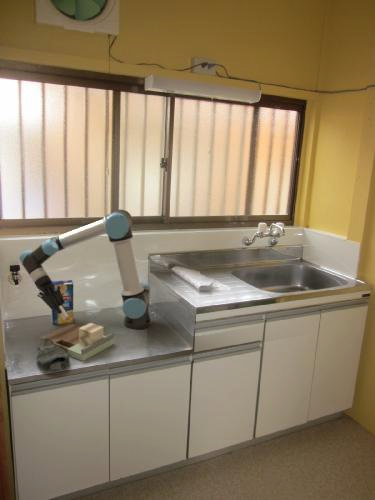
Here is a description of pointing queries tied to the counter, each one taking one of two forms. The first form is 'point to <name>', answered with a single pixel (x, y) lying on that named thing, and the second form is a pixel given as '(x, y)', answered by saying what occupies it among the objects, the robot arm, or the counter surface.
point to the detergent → (51, 355)
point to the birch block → (90, 334)
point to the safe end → (90, 348)
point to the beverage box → (67, 294)
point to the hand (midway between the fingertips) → (66, 317)
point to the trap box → (65, 337)
